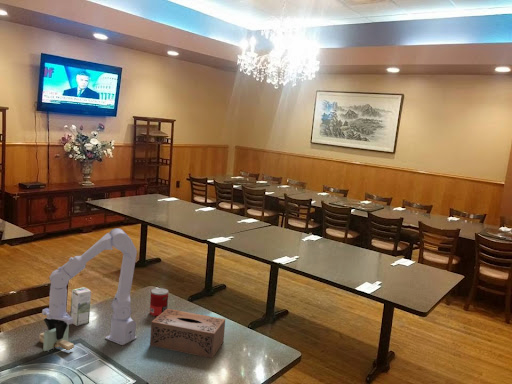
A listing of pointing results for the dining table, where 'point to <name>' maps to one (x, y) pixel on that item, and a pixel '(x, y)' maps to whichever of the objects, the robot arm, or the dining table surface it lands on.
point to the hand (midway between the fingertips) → (56, 337)
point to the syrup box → (80, 306)
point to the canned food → (158, 301)
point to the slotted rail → (58, 343)
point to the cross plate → (53, 338)
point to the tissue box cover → (187, 332)
